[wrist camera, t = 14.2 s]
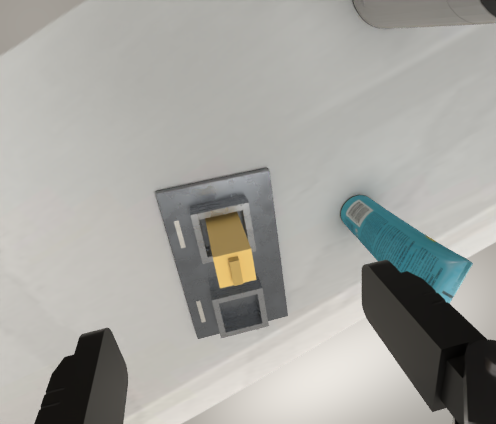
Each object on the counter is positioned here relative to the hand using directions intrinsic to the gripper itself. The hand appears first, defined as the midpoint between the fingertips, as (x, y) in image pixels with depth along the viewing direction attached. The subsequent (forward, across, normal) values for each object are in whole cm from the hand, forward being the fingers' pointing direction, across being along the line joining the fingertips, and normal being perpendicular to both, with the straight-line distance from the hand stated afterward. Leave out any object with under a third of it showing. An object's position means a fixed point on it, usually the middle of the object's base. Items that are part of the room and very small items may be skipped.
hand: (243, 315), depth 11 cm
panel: (+33, -1, +20) cm, 39 cm away
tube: (+33, -20, +17) cm, 42 cm away
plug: (+32, -1, +14) cm, 35 cm away
